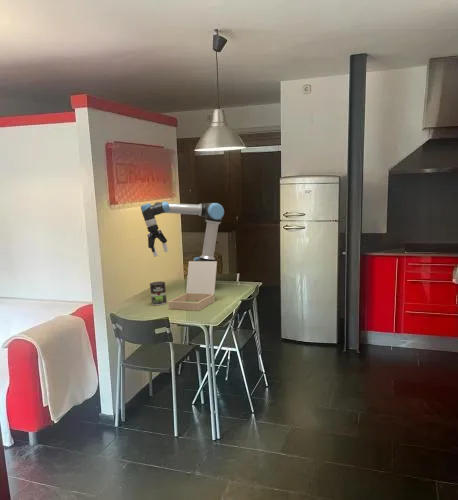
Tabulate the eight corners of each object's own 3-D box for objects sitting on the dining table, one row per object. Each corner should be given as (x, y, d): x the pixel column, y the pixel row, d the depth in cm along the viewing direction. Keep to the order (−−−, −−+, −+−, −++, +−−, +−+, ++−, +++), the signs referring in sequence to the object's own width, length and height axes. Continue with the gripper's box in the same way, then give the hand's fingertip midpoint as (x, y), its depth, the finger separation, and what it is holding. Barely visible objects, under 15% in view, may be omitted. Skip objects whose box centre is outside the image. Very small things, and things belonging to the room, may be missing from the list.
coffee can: (167, 304, 304) (165, 283, 302) (152, 306, 302) (149, 285, 300) (166, 300, 314) (164, 280, 312) (151, 302, 312) (149, 282, 310)
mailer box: (192, 296, 318) (189, 261, 314) (220, 298, 308) (217, 261, 304) (169, 308, 292) (164, 269, 288) (198, 310, 282) (194, 270, 278)
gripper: (157, 223, 331) (166, 251, 333) (137, 230, 309) (147, 259, 311) (165, 221, 327) (174, 248, 330) (145, 227, 305) (155, 257, 308)
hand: (161, 254), depth 320 cm, fingers open, 13 cm apart
